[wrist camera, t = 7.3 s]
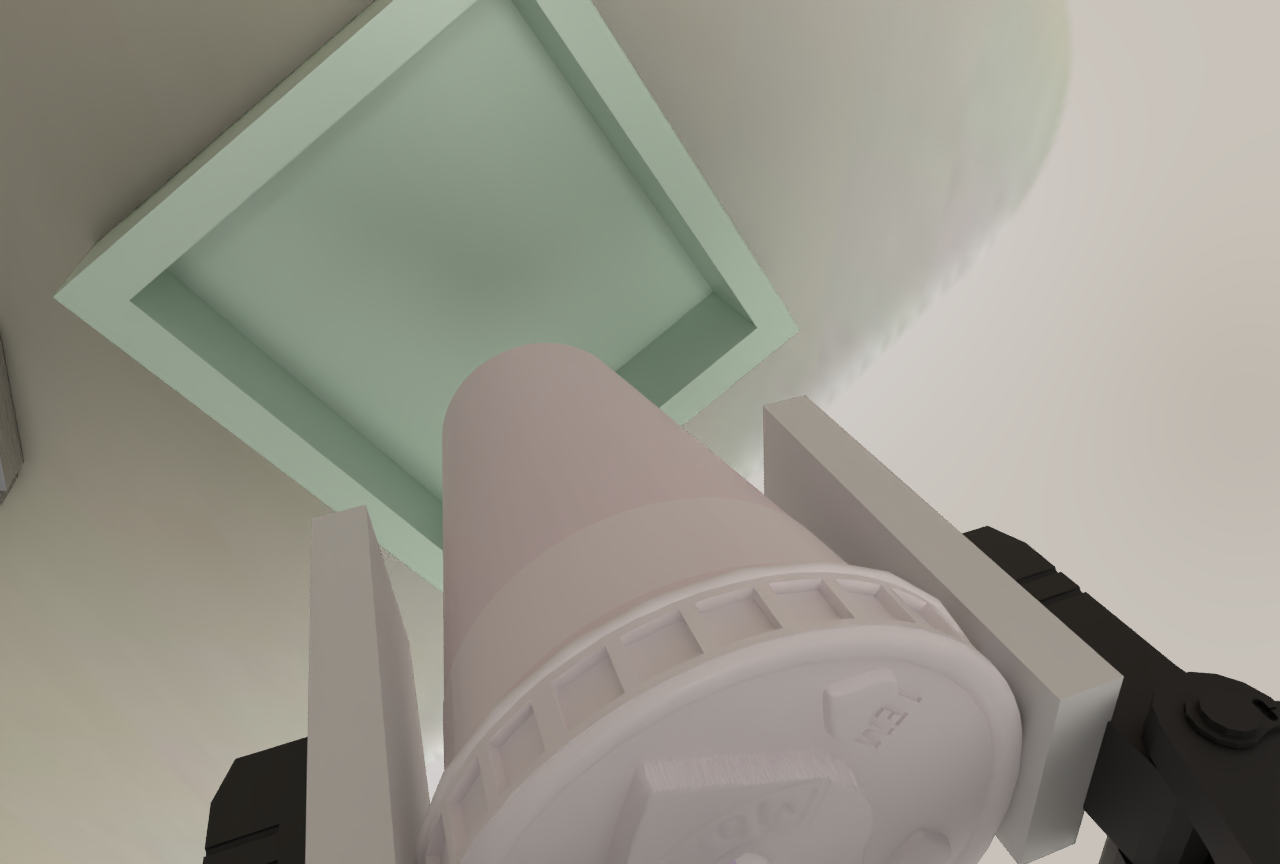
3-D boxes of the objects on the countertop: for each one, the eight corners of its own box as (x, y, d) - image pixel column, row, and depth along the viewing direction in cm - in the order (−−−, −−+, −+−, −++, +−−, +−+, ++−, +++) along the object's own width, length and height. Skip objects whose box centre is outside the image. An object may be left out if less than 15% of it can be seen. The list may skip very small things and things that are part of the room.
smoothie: (594, 199, 14) (1743, 1149, 3) (740, 450, 18) (1509, 1318, 6) (286, 409, 14) (161, 2262, 3) (495, 617, 18) (823, 1798, 6)
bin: (94, 244, 21) (52, 297, 18) (487, -98, 20) (520, -110, 17) (443, 531, 28) (460, 605, 25) (742, 285, 28) (800, 329, 24)
